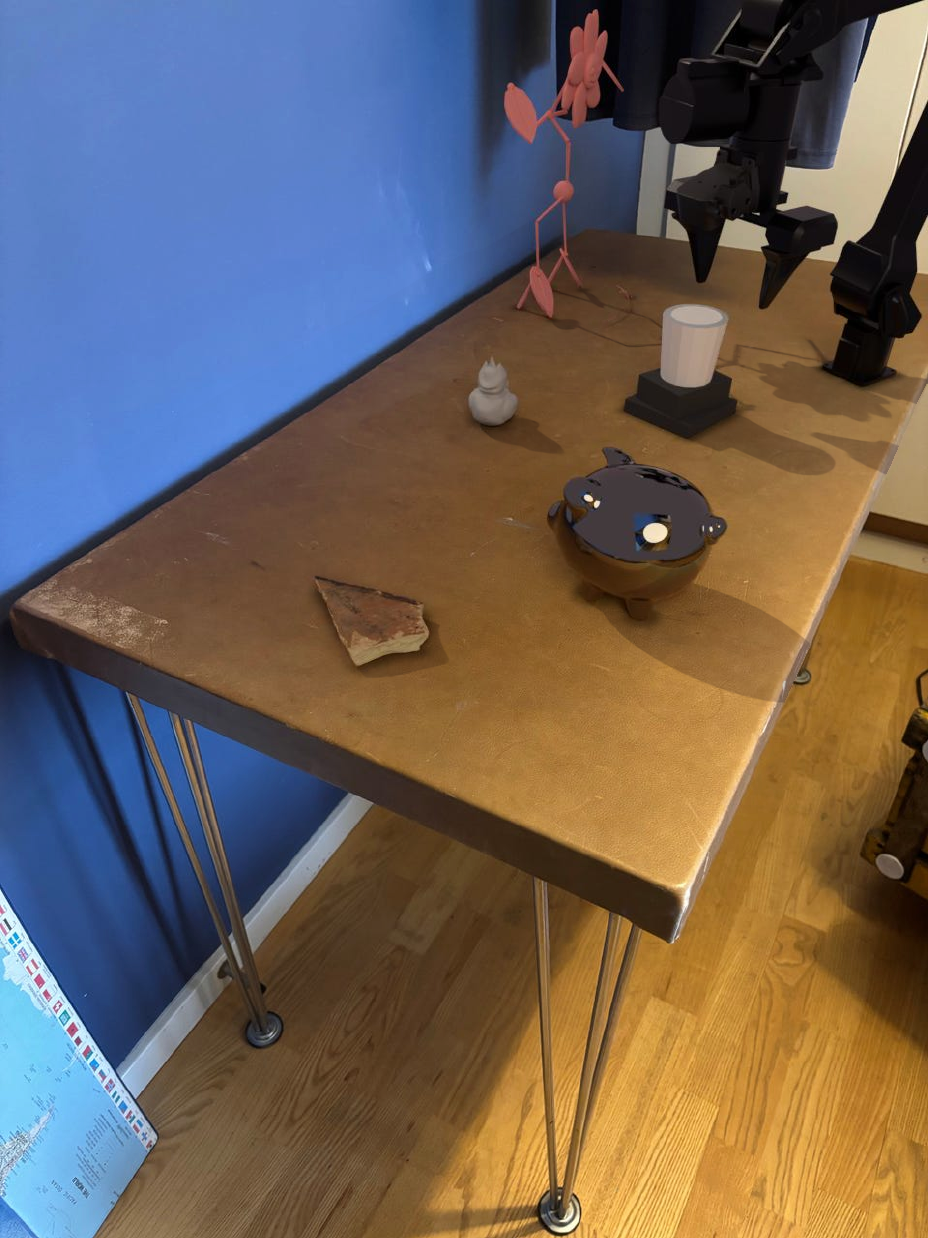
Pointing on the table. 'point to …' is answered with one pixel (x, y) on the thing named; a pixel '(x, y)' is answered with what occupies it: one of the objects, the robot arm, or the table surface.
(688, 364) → the shot glass
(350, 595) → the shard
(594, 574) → the piggy bank
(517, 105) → the figurine
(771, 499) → the table surface
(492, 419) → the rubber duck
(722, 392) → the black pad
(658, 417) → the base pad
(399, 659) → the table surface
